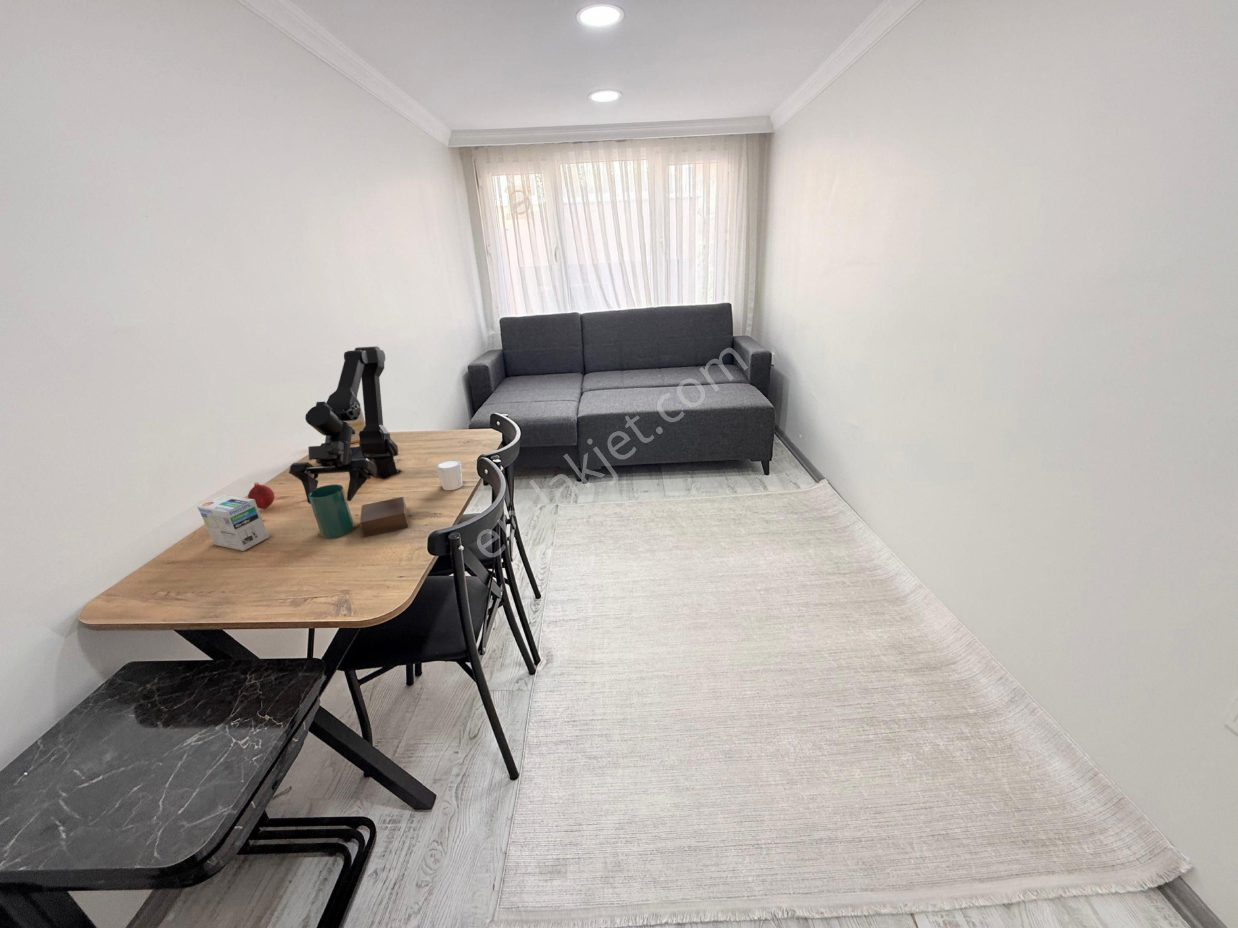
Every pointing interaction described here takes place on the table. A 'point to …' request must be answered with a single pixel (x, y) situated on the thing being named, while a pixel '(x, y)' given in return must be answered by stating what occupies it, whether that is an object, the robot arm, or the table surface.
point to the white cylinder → (450, 474)
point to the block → (383, 516)
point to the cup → (331, 510)
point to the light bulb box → (233, 522)
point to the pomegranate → (261, 495)
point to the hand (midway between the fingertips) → (329, 502)
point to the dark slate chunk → (355, 454)
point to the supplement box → (357, 427)
